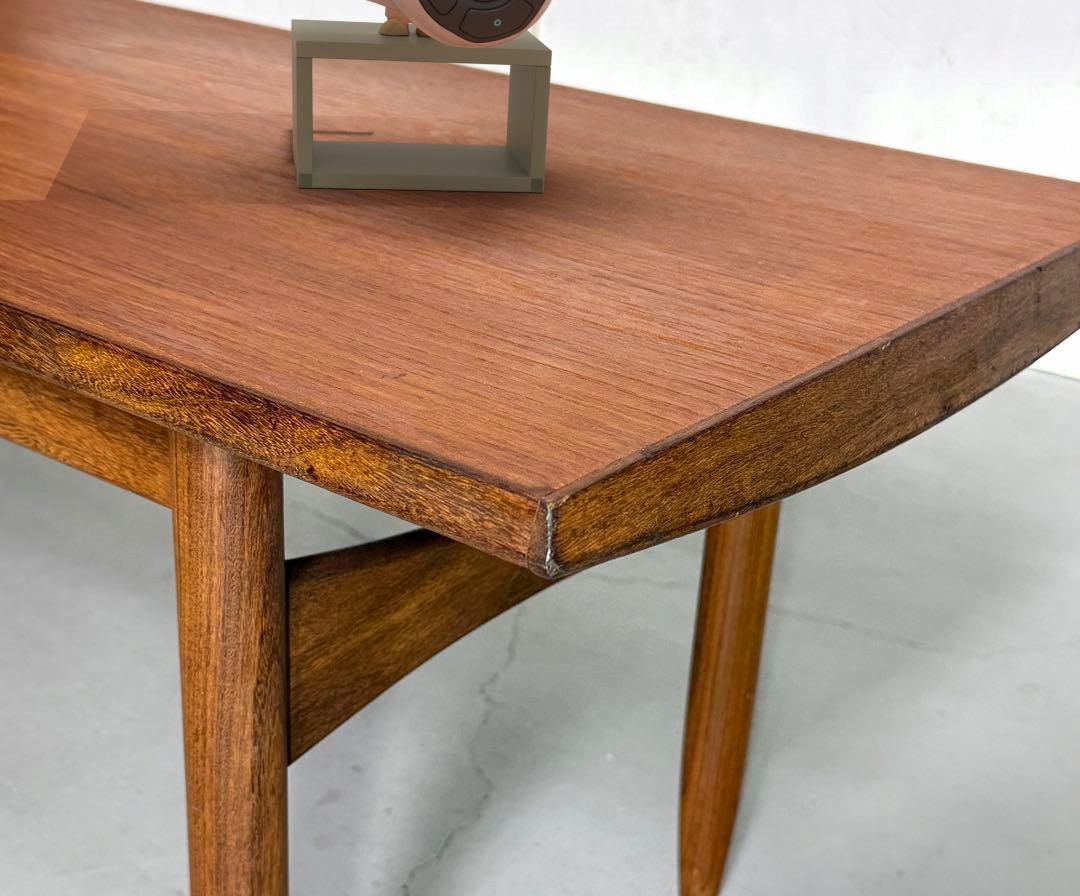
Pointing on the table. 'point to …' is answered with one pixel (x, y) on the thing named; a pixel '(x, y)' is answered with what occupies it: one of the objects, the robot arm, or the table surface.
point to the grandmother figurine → (397, 24)
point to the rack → (416, 161)
